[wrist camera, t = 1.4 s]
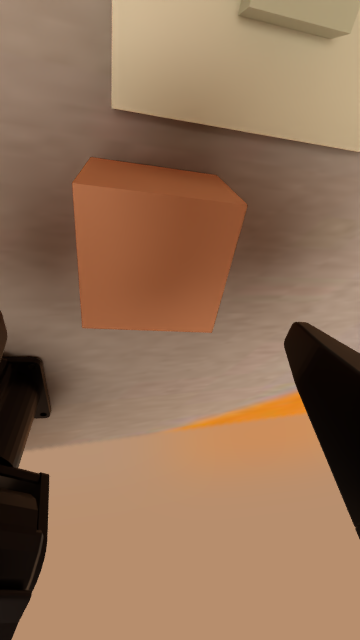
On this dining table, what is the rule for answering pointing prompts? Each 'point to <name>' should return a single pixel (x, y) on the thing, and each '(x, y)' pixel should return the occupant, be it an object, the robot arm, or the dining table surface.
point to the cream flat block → (242, 65)
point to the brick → (153, 245)
